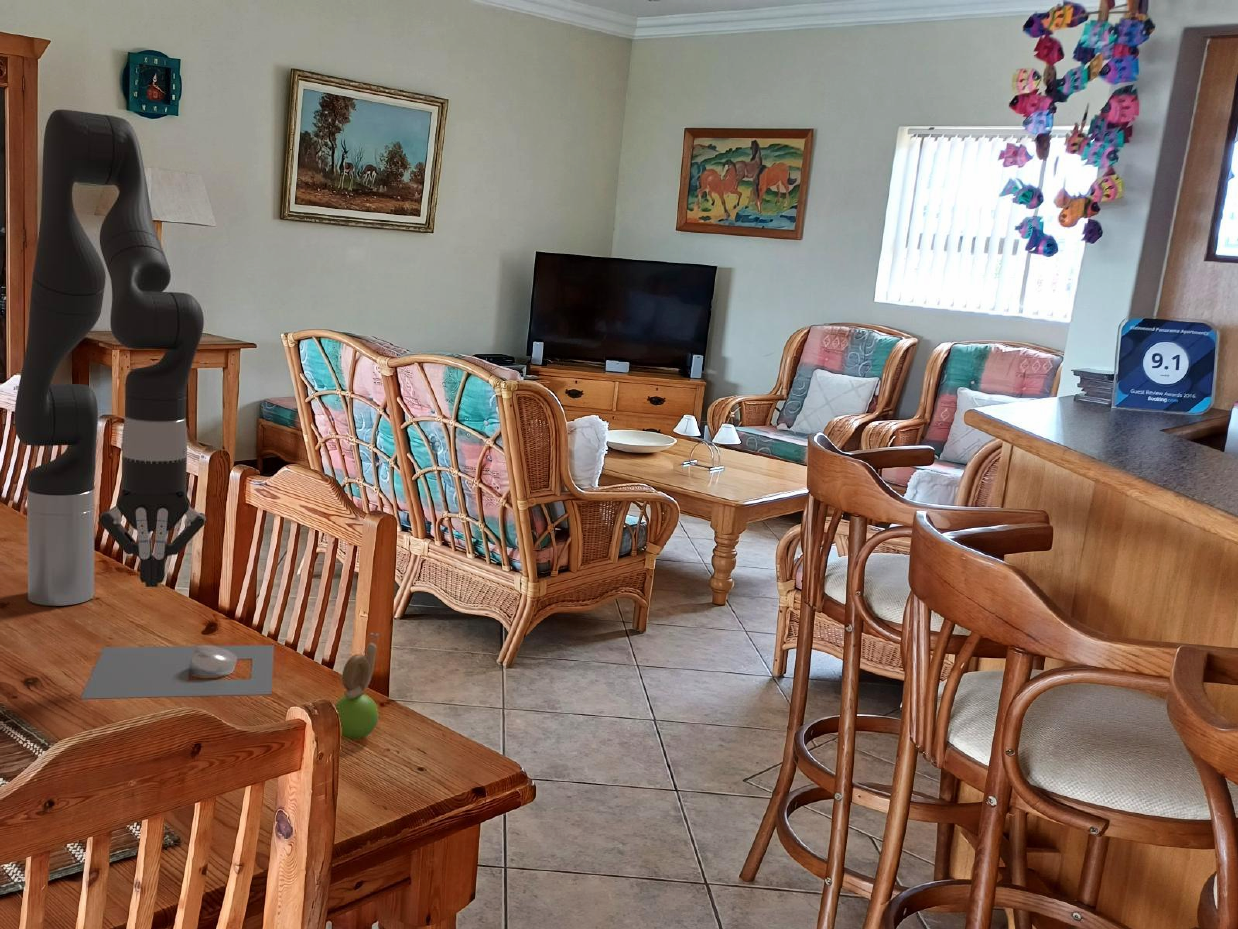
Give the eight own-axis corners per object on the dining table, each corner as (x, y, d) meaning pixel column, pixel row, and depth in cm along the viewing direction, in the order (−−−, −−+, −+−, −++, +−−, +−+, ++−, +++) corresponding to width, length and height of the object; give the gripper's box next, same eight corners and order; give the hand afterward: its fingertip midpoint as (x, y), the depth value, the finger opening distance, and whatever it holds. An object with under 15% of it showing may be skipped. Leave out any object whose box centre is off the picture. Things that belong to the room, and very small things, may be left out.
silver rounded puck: (191, 662, 152) (199, 641, 152) (232, 674, 153) (240, 653, 153) (183, 676, 147) (191, 654, 146) (226, 688, 148) (234, 667, 148)
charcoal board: (80, 710, 138) (80, 698, 138) (103, 657, 155) (103, 647, 155) (271, 705, 144) (271, 694, 144) (273, 655, 161) (274, 645, 161)
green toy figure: (390, 731, 139) (394, 636, 137) (361, 750, 133) (366, 652, 131) (351, 722, 141) (355, 628, 139) (321, 741, 135) (325, 643, 133)
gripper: (213, 448, 148) (209, 577, 152) (102, 444, 145) (100, 575, 148) (208, 461, 141) (205, 595, 145) (92, 456, 137) (90, 594, 141)
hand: (152, 585), depth 146 cm, fingers closed
